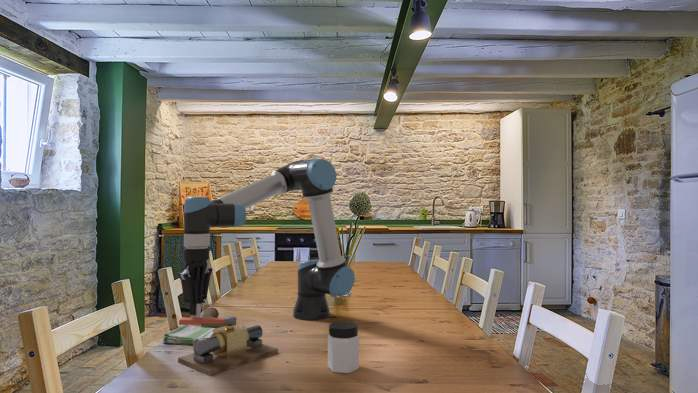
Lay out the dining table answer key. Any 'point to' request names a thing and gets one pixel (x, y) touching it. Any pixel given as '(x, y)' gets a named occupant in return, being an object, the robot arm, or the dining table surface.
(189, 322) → the lever
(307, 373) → the dining table surface
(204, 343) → the valve body
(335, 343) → the jar
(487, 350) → the dining table surface
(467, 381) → the dining table surface
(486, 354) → the dining table surface
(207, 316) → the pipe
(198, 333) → the dish towel
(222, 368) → the mount board
